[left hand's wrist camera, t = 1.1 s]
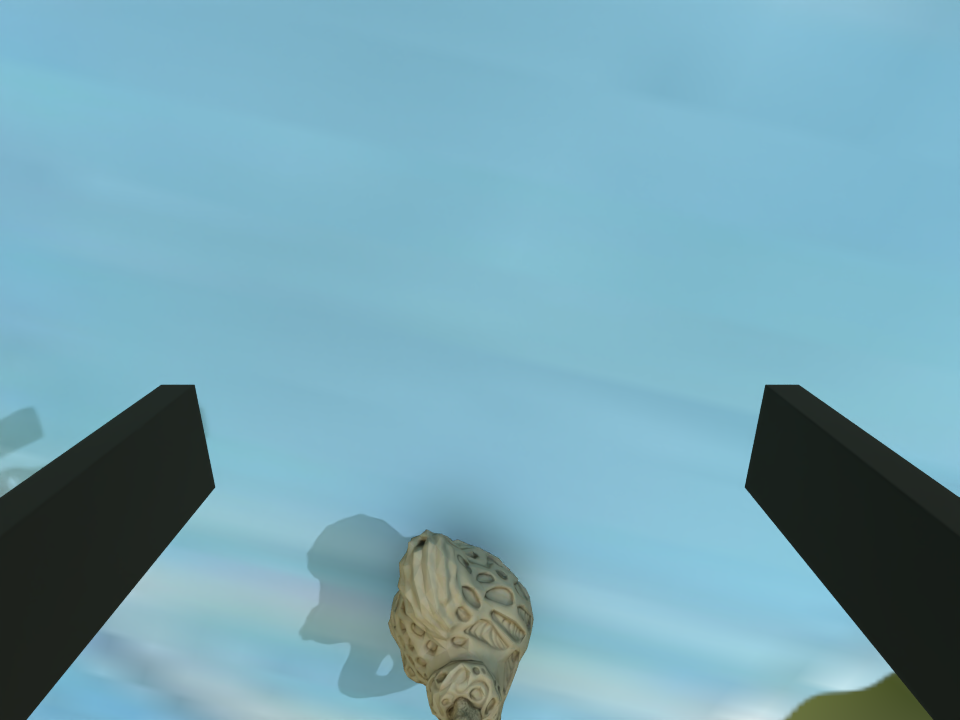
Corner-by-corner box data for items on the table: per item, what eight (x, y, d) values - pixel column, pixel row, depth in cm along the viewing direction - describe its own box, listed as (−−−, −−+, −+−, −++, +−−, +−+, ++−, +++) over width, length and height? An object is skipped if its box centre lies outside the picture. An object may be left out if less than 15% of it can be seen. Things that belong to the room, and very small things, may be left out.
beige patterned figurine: (370, 494, 46) (322, 642, 32) (502, 468, 45) (512, 608, 31) (434, 672, 53) (417, 857, 39) (548, 653, 52) (574, 835, 38)
